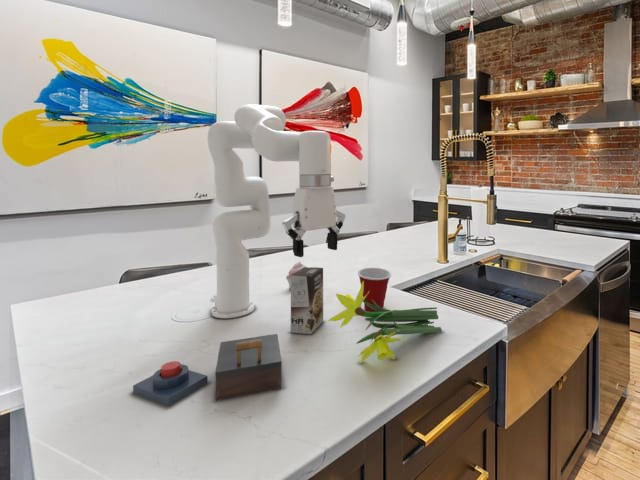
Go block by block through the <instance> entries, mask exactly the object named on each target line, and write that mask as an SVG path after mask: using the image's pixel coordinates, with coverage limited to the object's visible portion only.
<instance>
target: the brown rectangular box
mask: <svg viewBox="0 0 640 480" xmlns="http://www.w3.org/2000/svg"><path fill="white" fill-rule="evenodd" d="M281 389H282V366H281V367H278V368H272V369H267V370H261V371H255V372H249V373H244V374H238V375H232V376H227V377H221V378H216V377H215V401H216V402H217V401H222V400H227V399H231V398H237V397H243V396H247V395H254V394H257V393H263V392H268V391H269V392H270V391H275V390H281Z"/></svg>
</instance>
